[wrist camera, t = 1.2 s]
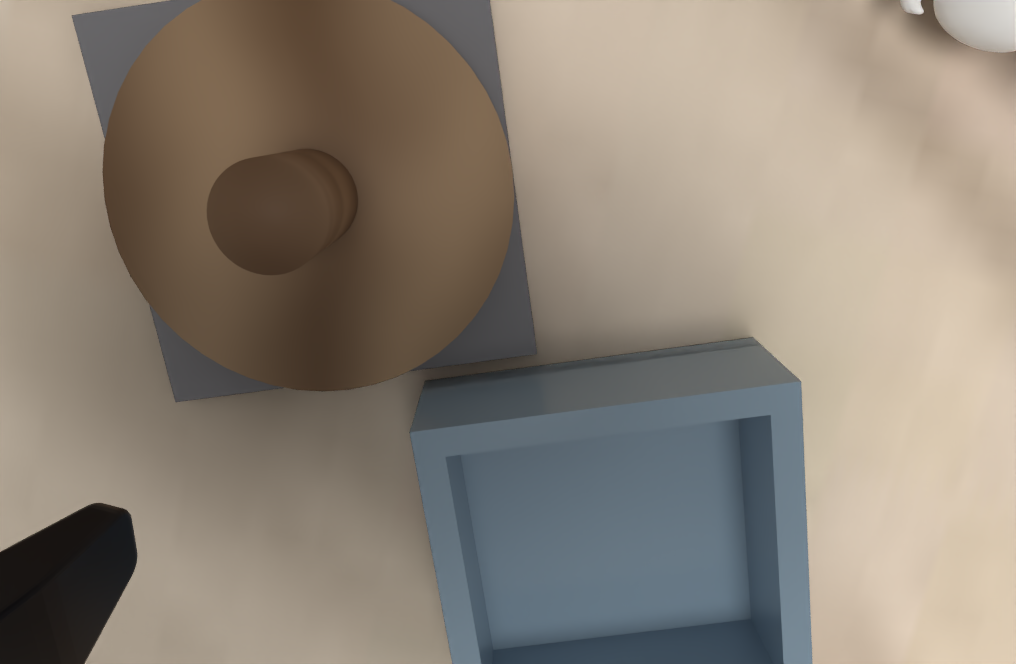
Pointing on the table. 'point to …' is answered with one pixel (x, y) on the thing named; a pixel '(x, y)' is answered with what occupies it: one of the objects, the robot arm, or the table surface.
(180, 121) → the lid
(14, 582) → the robot arm
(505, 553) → the dish
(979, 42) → the rabbit figurine
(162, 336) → the mat
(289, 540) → the table surface
